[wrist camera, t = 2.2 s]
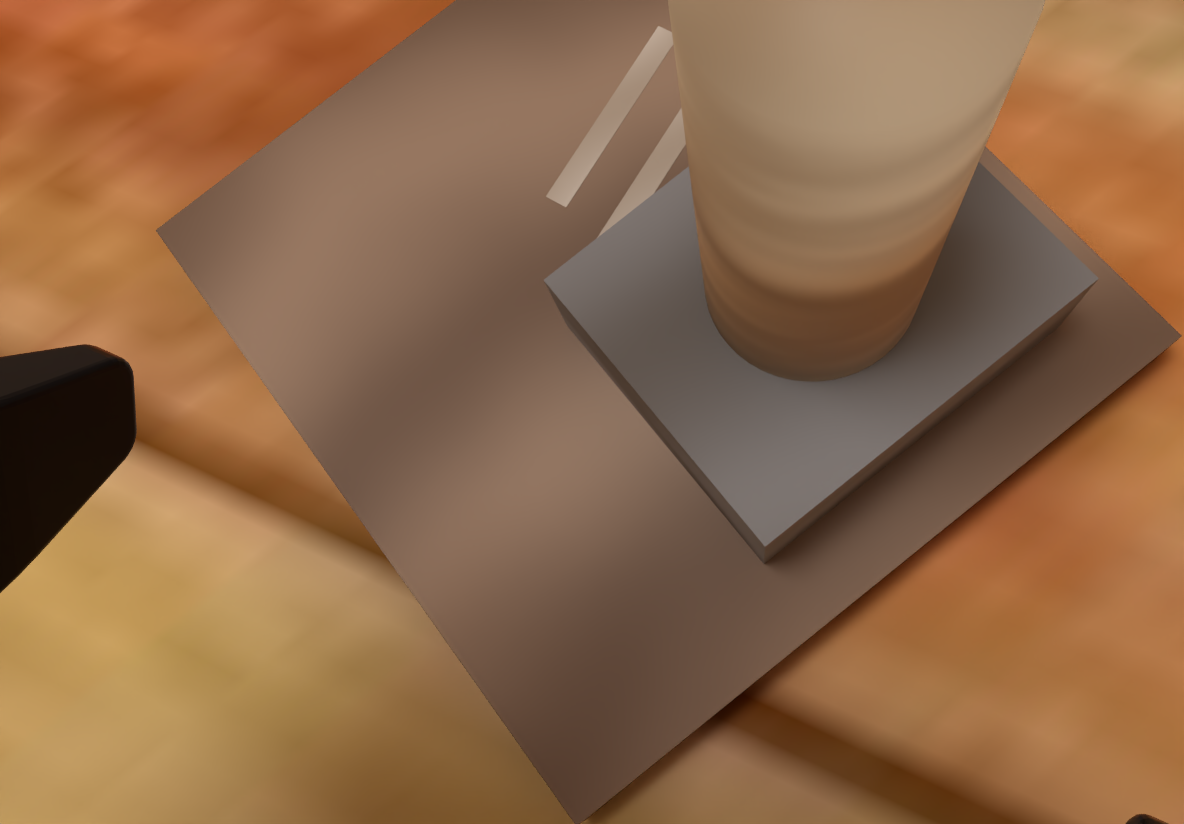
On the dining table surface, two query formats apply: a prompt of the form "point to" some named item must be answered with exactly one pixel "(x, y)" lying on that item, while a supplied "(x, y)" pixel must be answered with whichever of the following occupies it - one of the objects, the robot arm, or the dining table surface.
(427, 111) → the walnut board
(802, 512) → the tan and grey post
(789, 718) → the dining table surface
